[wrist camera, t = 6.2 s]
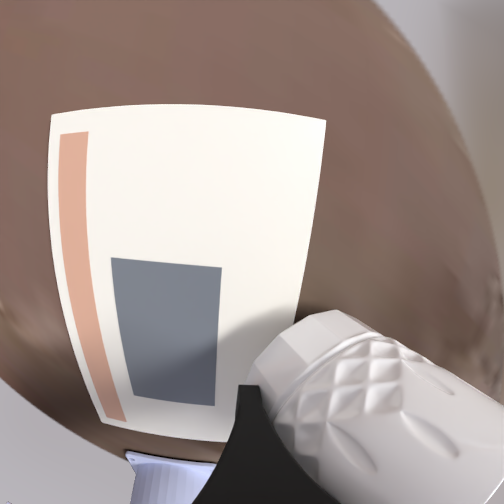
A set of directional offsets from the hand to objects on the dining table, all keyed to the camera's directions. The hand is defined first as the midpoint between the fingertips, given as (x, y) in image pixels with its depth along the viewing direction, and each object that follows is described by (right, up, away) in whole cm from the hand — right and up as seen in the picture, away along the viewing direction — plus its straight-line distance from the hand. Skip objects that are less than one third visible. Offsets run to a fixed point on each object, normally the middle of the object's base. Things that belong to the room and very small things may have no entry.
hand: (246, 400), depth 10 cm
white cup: (+3, 0, +2) cm, 4 cm away
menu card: (-4, +2, +3) cm, 5 cm away
